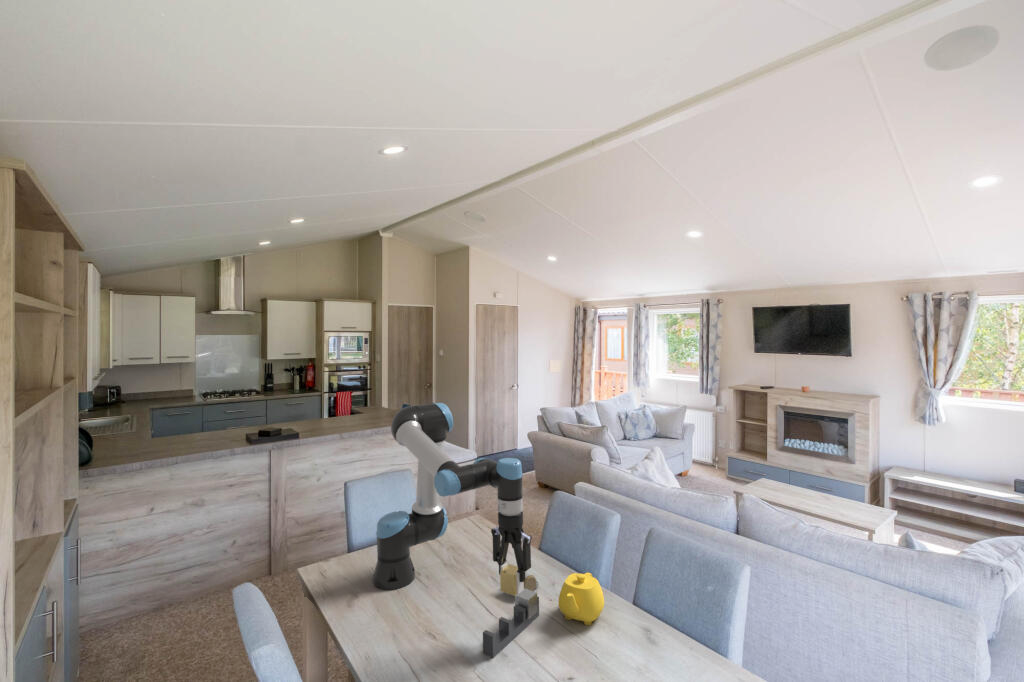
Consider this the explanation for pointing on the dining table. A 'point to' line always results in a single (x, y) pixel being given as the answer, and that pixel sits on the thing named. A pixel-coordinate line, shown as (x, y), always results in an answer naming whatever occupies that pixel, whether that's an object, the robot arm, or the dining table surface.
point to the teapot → (581, 598)
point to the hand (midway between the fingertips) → (512, 588)
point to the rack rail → (507, 631)
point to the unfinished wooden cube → (508, 580)
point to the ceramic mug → (530, 581)
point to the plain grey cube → (527, 602)
